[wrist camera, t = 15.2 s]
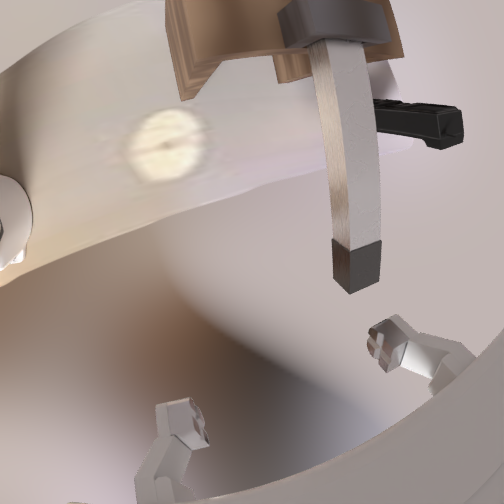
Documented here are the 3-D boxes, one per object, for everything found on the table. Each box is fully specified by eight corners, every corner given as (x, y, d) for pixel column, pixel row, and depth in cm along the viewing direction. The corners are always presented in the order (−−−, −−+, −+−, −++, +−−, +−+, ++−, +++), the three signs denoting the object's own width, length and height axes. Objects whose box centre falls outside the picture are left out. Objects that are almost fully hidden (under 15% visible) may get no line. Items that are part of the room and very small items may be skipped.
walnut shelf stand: (181, 101, 36) (206, 38, 10) (165, 26, 29) (175, -104, 3) (289, 82, 39) (440, 54, 13) (273, 13, 32) (393, -69, 6)
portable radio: (367, 97, 43) (476, 102, 22) (373, 125, 46) (480, 144, 25) (336, 103, 43) (450, 105, 21) (344, 133, 46) (455, 154, 24)
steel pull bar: (333, 278, 24) (349, 294, 21) (290, -7, 12) (307, -21, 10) (361, 267, 24) (378, 281, 22) (327, -3, 13) (347, -14, 10)
